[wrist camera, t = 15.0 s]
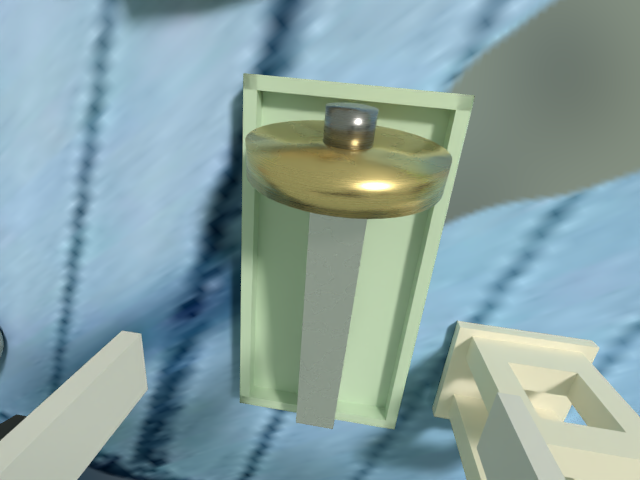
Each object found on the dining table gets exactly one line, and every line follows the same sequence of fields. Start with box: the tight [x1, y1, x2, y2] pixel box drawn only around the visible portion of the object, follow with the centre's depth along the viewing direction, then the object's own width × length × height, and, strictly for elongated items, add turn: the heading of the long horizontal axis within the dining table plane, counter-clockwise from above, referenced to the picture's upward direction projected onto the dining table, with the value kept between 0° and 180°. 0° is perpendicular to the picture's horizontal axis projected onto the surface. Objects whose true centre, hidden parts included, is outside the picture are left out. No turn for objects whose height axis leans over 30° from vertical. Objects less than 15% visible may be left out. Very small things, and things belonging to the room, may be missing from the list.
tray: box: [240, 73, 475, 429], centre depth 30 cm, size 16×31×2 cm, turn 175°
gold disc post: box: [245, 102, 452, 429], centre depth 26 cm, size 28×12×12 cm, turn 175°
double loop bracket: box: [432, 321, 640, 480], centre depth 28 cm, size 11×12×12 cm
